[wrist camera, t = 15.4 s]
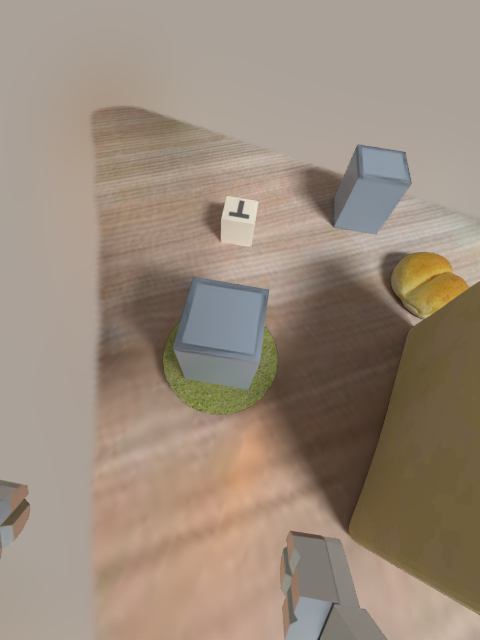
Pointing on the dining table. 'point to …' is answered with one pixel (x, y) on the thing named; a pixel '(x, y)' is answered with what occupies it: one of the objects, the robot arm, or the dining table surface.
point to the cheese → (431, 458)
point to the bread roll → (425, 283)
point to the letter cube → (238, 221)
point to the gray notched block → (370, 188)
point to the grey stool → (221, 333)
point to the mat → (220, 396)
